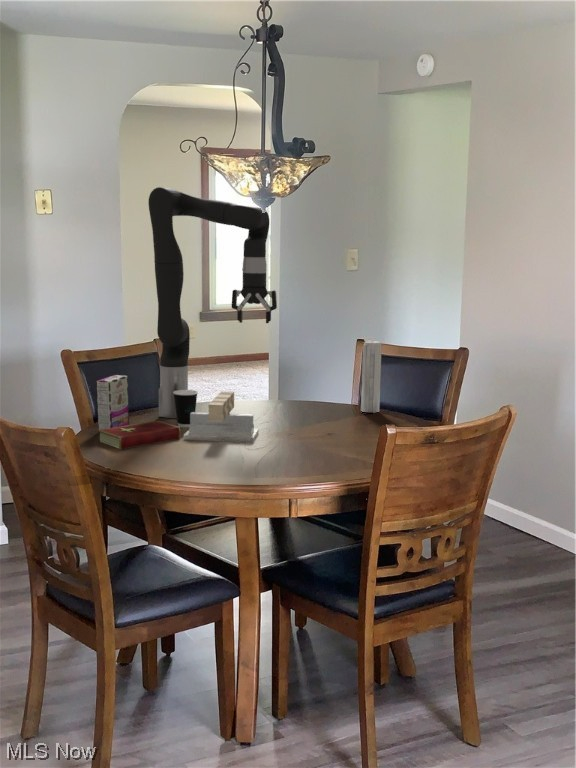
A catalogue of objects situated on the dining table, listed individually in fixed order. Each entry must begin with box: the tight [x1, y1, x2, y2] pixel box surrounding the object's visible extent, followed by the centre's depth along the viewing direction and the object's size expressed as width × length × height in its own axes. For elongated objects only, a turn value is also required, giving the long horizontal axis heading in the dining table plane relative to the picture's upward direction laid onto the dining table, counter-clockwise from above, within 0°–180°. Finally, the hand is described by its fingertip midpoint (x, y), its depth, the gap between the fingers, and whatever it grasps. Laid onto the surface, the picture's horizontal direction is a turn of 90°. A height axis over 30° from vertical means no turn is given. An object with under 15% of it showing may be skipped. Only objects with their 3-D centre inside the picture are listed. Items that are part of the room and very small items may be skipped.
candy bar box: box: [96, 374, 130, 430], centre depth 262 cm, size 11×5×16 cm, turn 161°
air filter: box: [360, 340, 382, 413], centre depth 294 cm, size 6×6×25 cm
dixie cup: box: [173, 389, 199, 428], centre depth 269 cm, size 8×8×11 cm
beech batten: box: [208, 390, 235, 422], centre depth 255 cm, size 22×4×5 cm, turn 175°
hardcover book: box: [97, 420, 181, 450], centre depth 250 cm, size 12×21×4 cm, turn 133°
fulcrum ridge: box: [183, 411, 259, 444], centre depth 256 cm, size 21×12×7 cm, turn 85°
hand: (254, 322), depth 269 cm, fingers open, 8 cm apart
